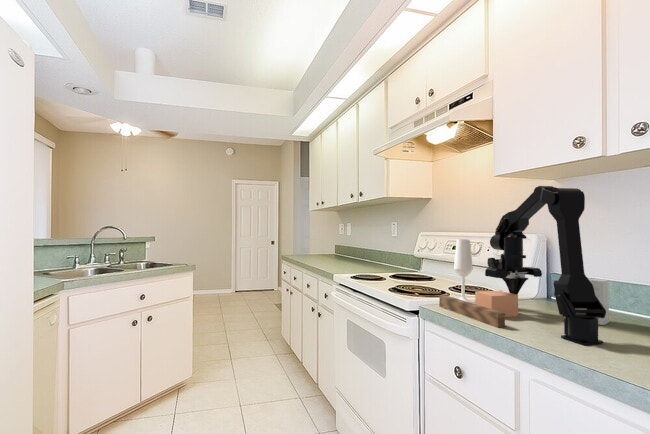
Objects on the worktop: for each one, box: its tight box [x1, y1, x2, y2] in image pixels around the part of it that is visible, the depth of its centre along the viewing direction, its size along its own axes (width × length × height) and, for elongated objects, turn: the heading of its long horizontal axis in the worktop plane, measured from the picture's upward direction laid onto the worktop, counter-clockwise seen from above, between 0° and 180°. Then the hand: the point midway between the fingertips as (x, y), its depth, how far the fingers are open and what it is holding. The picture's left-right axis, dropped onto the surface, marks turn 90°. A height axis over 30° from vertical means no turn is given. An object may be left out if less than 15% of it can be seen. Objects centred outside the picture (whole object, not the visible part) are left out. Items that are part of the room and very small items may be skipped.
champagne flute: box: [453, 238, 474, 303], centre depth 136 cm, size 7×7×24 cm
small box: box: [587, 277, 610, 326], centre depth 111 cm, size 8×6×13 cm
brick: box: [474, 290, 519, 318], centre depth 119 cm, size 8×10×7 cm
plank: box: [438, 294, 506, 329], centre depth 116 cm, size 28×2×4 cm, turn 17°
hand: (513, 297), depth 121 cm, fingers closed
